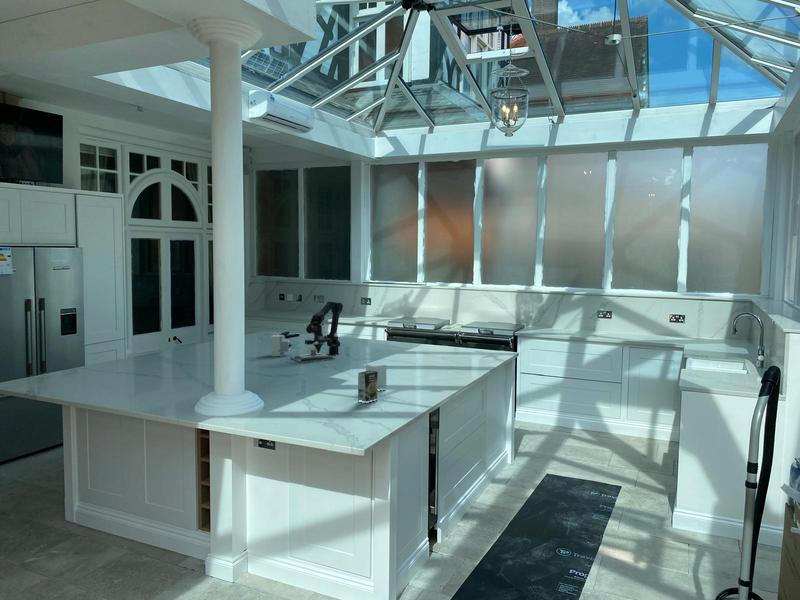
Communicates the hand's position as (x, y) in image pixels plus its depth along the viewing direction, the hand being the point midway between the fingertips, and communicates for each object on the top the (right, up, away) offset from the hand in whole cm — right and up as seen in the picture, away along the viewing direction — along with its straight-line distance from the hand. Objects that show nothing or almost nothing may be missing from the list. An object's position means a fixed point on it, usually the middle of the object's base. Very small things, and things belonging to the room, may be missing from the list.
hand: (318, 353), depth 460 cm
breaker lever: (-3, -3, -2) cm, 5 cm away
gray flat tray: (-4, -3, -2) cm, 6 cm away
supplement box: (+46, -14, -94) cm, 105 cm away
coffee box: (+42, -16, -120) cm, 128 cm away
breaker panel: (-4, -4, -2) cm, 6 cm away
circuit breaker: (-29, -3, +12) cm, 31 cm away
